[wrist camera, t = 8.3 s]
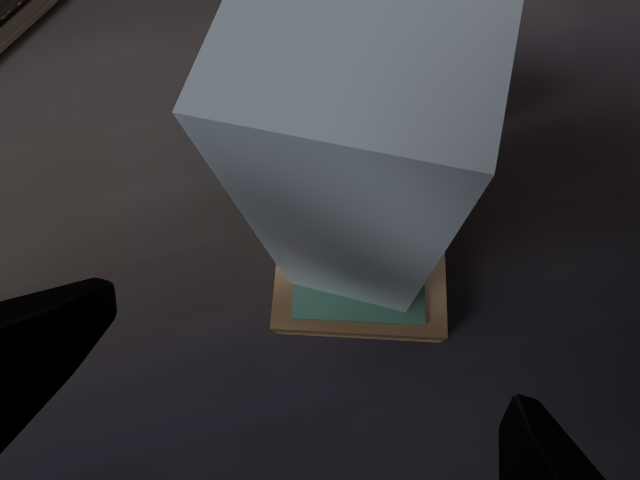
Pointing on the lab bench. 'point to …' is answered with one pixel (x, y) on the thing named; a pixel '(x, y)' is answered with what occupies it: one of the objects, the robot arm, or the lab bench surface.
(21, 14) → the hardcover book
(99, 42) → the lab bench surface
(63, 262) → the lab bench surface
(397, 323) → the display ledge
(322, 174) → the grey tapered block
